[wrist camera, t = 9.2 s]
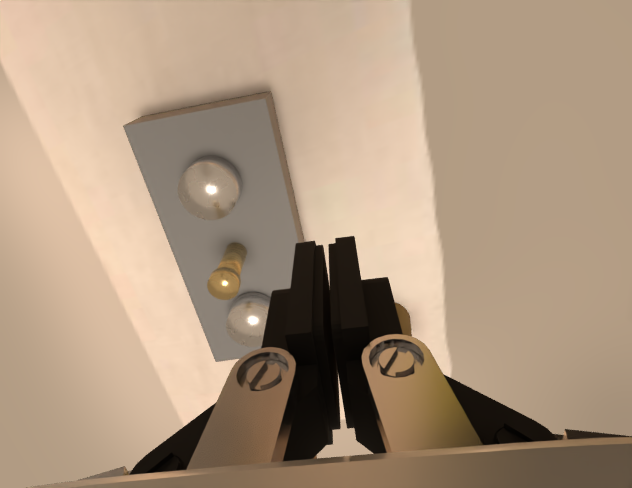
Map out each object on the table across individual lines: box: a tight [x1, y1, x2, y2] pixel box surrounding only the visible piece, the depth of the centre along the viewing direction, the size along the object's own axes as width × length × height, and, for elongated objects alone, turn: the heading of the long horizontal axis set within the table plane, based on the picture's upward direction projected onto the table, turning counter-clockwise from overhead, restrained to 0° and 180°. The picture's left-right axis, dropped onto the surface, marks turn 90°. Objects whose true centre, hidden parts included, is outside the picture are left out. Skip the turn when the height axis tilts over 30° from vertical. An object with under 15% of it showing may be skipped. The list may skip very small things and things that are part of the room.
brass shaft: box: [207, 242, 247, 300], centre depth 37 cm, size 3×3×6 cm
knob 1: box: [178, 156, 242, 220], centre depth 37 cm, size 5×5×6 cm
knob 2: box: [226, 292, 270, 347], centre depth 43 cm, size 5×5×6 cm
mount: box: [123, 91, 304, 362], centre depth 41 cm, size 26×12×4 cm, turn 11°
